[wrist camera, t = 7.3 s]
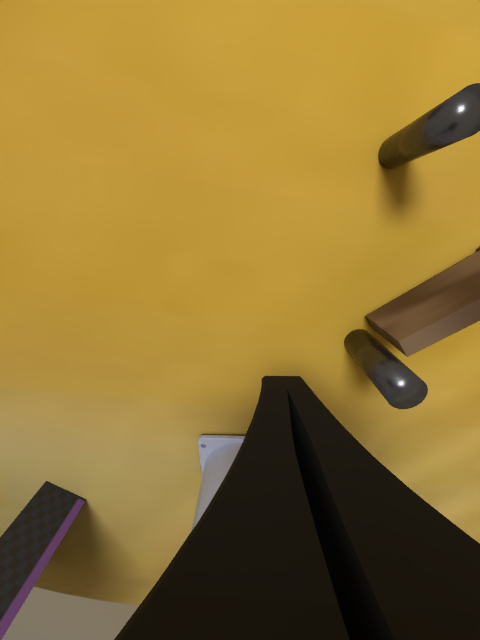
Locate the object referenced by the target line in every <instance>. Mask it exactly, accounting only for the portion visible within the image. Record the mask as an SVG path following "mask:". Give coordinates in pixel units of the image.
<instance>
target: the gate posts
mask: <svg viewBox="0 0 480 640" xmlns="http://www.w3.org/2000/svg"><path fill="white" fill-rule="evenodd" d="M478 131H480V83H476V84H472V85H469V86H467V87H465V88H464V89H462V90H461V91H459V92H458V93H456V94H455V95H453V96H452V97H450V98H449V99H447V100H445V101H444V102H442V103H441V104H439V105H438V106H436V107H435V108H433V109H432V110H430V111H429V112H427V113H426V114H424V115H423V116H421V117H419V118H418V119H416V120H415V121H413V122H412V123H410V124H409V125H407V126H406V127H404V128H403V129H401V130H400V131H398V132H397V133H395V134H394V135H392V136H390V137H389V138H388V139H386V140H385V141H384V142H383V144H382V145H381V147H380V150H379V161H380V163H381V165H382V166H383V167H385V168H388V169H392V168H395V167H398V166H400V165H403V164H405V163H407V162H410V161H412V160H415V159H417V158H419V157H422V156H424V155H427V154H429V153H431V152H434V151H436V150H439V149H441V148H443V147H446V146H448V145H451V144H453V143H455V142H458V141H460V140H463V139H465V138H467V137H470V136H472V135H474V134H476V133H477V132H478ZM344 345H345V348H346V349H347V350H348V352H349V353H350V354H351V355H352V357H353V358H354V359H355V361H356V362H357V363H358V364H359V366H360V367H361V368H362V369H363V371H364V372H365V373H366V375H367V376H368V377H369V378H370V380H371V381H372V382H373V384H374V385H375V386H376V387H377V389H378V390H379V391H380V393H381V394H382V395H383V396H384V398H385V399H386V400H387V401H388V403H389V404H390V405H391V406H393V407H395V408H398V409H408V408H412V407H414V406H416V405H418V404H420V403H421V402H422V401H423V400H424V399H425V397H426V395H427V392H428V388H427V385H426V384H425V382H424V381H422V380H421V379H420V378H419V377H418V376H417V375H416V374H415V373H413V372H412V371H411V370H410V369H409V368H408V367H407V366H406V365H405V364H403V363H402V362H401V361H400V360H399V359H398V358H397V357H396V356H394V355H393V354H392V353H391V352H390V351H389V350H388V349H387V348H386V347H384V346H383V345H382V344H381V343H380V342H379V341H378V340H377V339H376V338H374V337H373V336H372V335H371V334H370V333H369V332H368V331H366V330H363V329H358V330H354V331H352V332H350V333H349V334H348V335H347V336H346V338H345V341H344Z"/></svg>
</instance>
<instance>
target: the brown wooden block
mask: <svg viewBox="0 0 480 640" xmlns="http://www.w3.org/2000/svg"><path fill="white" fill-rule="evenodd" d="M366 317H367V319H368V321H369V322H370V324H371V326H372V327H373V329H374V330H376V331H377V332H378V333H379V334H380V335H382V336H383V337H384V338H385V339H386V340H388V341H389V342H390V343H391V344H392V345H394V346H395V347H396V348H397V349H398V350H400V351H401V352H402V353H403V354H404V355H406V356H407V357H408V356H410V355H412V354H414V353H416V352H418V351H420V350H422V349H424V348H426V347H428V346H430V345H432V344H434V343H436V342H438V341H440V340H442V339H444V338H446V337H448V336H450V335H452V334H454V333H456V332H458V331H460V330H462V329H464V328H466V327H468V326H470V325H472V324H474V323H476V322H478V321H480V250H479V251H478V252H476V253H474V254H472V255H471V256H469V257H467V258H465V259H464V260H462V261H460V262H458V263H457V264H455V265H453V266H451V267H450V268H448V269H446V270H445V271H443V272H441V273H439V274H438V275H436V276H434V277H432V278H431V279H429V280H427V281H425V282H424V283H422V284H420V285H418V286H417V287H415V288H413V289H411V290H410V291H408V292H406V293H405V294H403V295H401V296H399V297H398V298H396V299H394V300H392V301H391V302H389V303H387V304H385V305H384V306H382V307H380V308H378V309H377V310H375V311H373V312H372V313H370V314H368V315H366Z"/></svg>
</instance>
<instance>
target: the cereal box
mask: <svg viewBox="0 0 480 640" xmlns="http://www.w3.org/2000/svg"><path fill="white" fill-rule="evenodd" d="M85 501H86V499H84V498H82V497H80V496H78V495H76V494H74V493H71V492H69V491H67V490H65V489H63V488H61V487H58V486H56V485H54V484H52V483H50V482H48V481H46V482H45V483H44V484H43V486H42V487H41V488H40V489H39V490H38V492H37V493H36V494H35V495H34V497H33V498H32V499H31V500H30V502H29V503H28V504H27V505H26V507H25V508H24V509H23V510H22V511H21V513H20V514H19V515H18V516H17V518H16V519H15V520H14V521H13V523H12V524H11V525H10V526H9V528H8V529H7V530H6V531H5V532H4V534H3V535H2V536H1V537H0V640H1V639H2V638H3V636H4V634H5V633H6V631H7V630H8V628H9V626H10V625H11V623H12V621H13V619H14V618H15V616H16V615H17V613H18V611H19V610H20V608H21V606H22V605H23V603H24V601H25V600H26V598H27V597H28V595H29V593H30V591H31V590H32V588H33V587H34V585H35V583H36V582H37V580H38V578H39V577H40V575H41V574H42V572H43V570H44V569H45V567H46V565H47V564H48V562H49V560H50V559H51V557H52V555H53V554H54V552H55V550H56V549H57V547H58V545H59V544H60V542H61V541H62V539H63V537H64V536H65V534H66V532H67V531H68V529H69V527H70V526H71V524H72V522H73V521H74V519H75V517H76V516H77V514H78V513H79V511H80V509H81V508H82V506H83V504H84V503H85Z"/></svg>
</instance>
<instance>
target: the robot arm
mask: <svg viewBox="0 0 480 640" xmlns="http://www.w3.org/2000/svg"><path fill="white" fill-rule="evenodd" d="M198 447H199V456H200V464H201V473H202V481H201V486H200V492H199V497H198V502H197V507H196V512H195V517H194V522H193V527H192V532H191V533H190V535H189V536H188V537H187V539H186V540H185V542H184V543H183V545H182V546H181V548H180V549H179V551H178V552H177V554H176V555H175V557H174V558H173V560H172V561H171V563H170V564H169V566H168V567H167V569H166V570H165V572H164V573H163V574H162V576H161V577H160V579H159V580H158V581H157V583H156V584H155V586H154V587H153V588H152V590H151V591H150V592H149V594H148V595H147V596H146V598H145V599H144V600H143V602H142V603H141V604H140V606H139V607H138V608H137V610H136V611H135V613H134V614H133V615H132V617H131V618H130V619H129V621H128V622H127V623H126V625H125V626H124V627H123V629H122V630H121V631H120V633H119V634H118V635H117V637H116V638H115V639H114V640H480V544H479V543H478V542H477V541H475V540H474V539H473V538H471V537H470V536H469V535H467V534H466V533H465V532H464V531H462V530H461V529H460V528H458V527H457V526H456V525H455V524H453V523H452V522H451V521H450V520H448V519H447V518H446V517H444V516H443V515H442V514H441V513H439V512H438V511H437V510H436V509H434V508H433V507H432V506H431V505H429V504H428V503H427V502H425V501H424V500H423V499H422V498H421V497H419V496H418V495H417V494H416V493H415V492H413V491H412V490H411V489H410V488H409V487H407V486H406V485H405V484H404V483H403V482H402V481H400V480H399V479H398V478H397V477H396V476H395V475H394V474H392V473H391V472H390V471H389V470H388V469H387V468H386V467H384V466H383V465H382V464H381V463H380V462H379V461H378V460H377V459H376V458H375V457H373V456H372V455H371V454H370V453H369V452H368V451H367V450H366V449H365V448H364V447H363V446H362V445H361V444H360V443H359V442H358V441H357V440H356V439H355V438H354V437H353V436H352V435H351V434H350V433H349V432H348V431H347V430H346V429H345V428H344V427H343V426H342V425H341V423H340V422H339V421H338V420H337V419H336V418H335V417H334V416H333V415H332V414H331V412H330V411H329V410H328V409H327V408H326V407H325V406H324V405H323V403H322V402H321V401H320V400H319V399H318V397H317V396H316V395H315V394H314V393H313V391H312V390H311V389H310V388H309V387H308V385H307V384H306V383H305V382H304V380H303V379H302V378H301V377H300V376H265V377H263V378H262V388H261V393H260V397H259V401H258V404H257V407H256V410H255V413H254V416H253V419H252V421H251V424H250V426H249V429H248V431H247V433H246V436H231V435H201V436H199V438H198Z"/></svg>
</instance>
